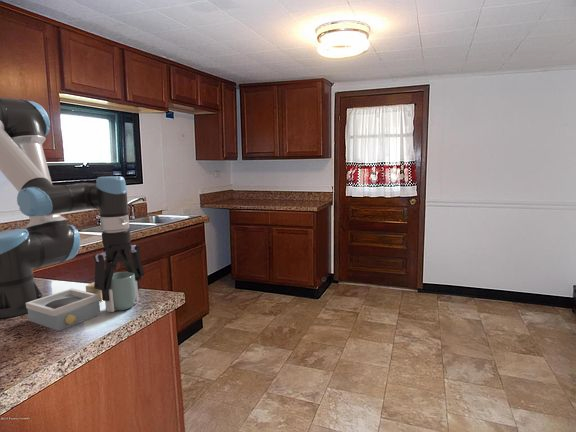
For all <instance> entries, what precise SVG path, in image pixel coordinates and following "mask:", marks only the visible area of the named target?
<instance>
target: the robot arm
mask: <svg viewBox="0 0 576 432" xmlns="http://www.w3.org/2000/svg"><path fill="white" fill-rule="evenodd" d="M49 117H50V116H49V115H48V113H47V111H46V109H45V108H44V107H43V106H42V105H41V104H40V103H37V102H35V101H32V100H27V99H24V98H22V99H21V98H20V99H17V98H10V97H9V98H8V97H0V172H1V173H2V174H3V176H5V178H6V179H7V180H8V181H9V183H11V185H12V186H13V187H14V188H15V190H16V191H17V196H16V203H17V205H18V207H19V211H20V212H21V213H22V214H23V215H24V216H27V217H28V218H29V223H28V224H27V225H26V226H25V228H14V229H7V230H2V231H0V319H5V318H12V317H17V316H20V315H24V314H28V309H27V308H26V303H27V302H30V301H33V300H36V299H40V298H43V297H44V295H43V292H41V289H40V288H39V286H38V285H37V283H36V281H35V277H34V270H35V269H40V268H43V267H47V266H52V265H55V264H61V263H64V262H66V261H68V260H69V261H70V260H72V259H73V258H75V257H76V256H77V255H78V253H79V251H80V248H81V235H80V232H79V231H78V229H77V227H76V226H74V225H72V224H69V222H68V219H67V218H66V217H64V216H62V215H61V213H69V212H77V211H82V210H83V211H85V210H99V221H100V222H99V223H100V230H101V231H102V233H101V242H102V245H103V251H102V252H100V253H95V254H93V259H94V262H95V265H94V266H95V267H94V288H95V289H98V290H102V298H103V301H102V302H104V305H105V311H107V312H111V313H114V312H115V310H114V302H113V291H112V289H109V288H110V285H111V281H112V277H113V273H115V269H116V267H117V266H118V263H121V262H122V263H123V266H124V267H125V269H126V272H132V273H134V274H135V283H136V300H135V303H137V302H139V299H140V298H139V297H140V296H139V290H140V281H141V280H142V277H143V276H144V275H145V272H144V267H143V263H142V259H141V254H140V252H141V251H140V248H141V247H140V245H136V244H131V240H132V236H131V230H130V229H129V228H130V217H129V206H128V189H127V183H126V180H125V178H124V176H121V175H120V176H118V175H116V176H113V175H111V176H108V175H107V176H98V177H97V178H96V181H95V182H96V183H92V182H91V183H88V182H78V183H72V184H66V185H65V184H64V185H63V184H62V185H55V184H54V185H53V182H52V177H51V175H50V170H49V168H48V167H49V166H48V163H47V160H46V155H45V152H44V148H43V147H44V146H43V145H44V142H46V139H47V138H46V136H48V134H49V133H50V130H51V129H50V127H51V121H50V118H49Z"/></svg>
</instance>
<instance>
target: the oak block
mask: <svg viewBox="0 0 576 432" xmlns="http://www.w3.org/2000/svg"><path fill="white" fill-rule="evenodd" d="M94 282H95V281H94ZM94 282H91V283H89V284H87V285H85V292H89V293H93V294H98V295H99V299H100V300H98V301H102V300H103V298H102V290H98V289H95V288H94ZM102 302H103V301H102Z"/></svg>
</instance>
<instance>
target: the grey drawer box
mask: <svg viewBox="0 0 576 432" xmlns="http://www.w3.org/2000/svg"><path fill="white" fill-rule="evenodd" d="M98 300H100V299H99V295H98V294H93V293H89V292H86V290H85V291H84V290H81V289H76V288H68V289H65V290H62V291H59V292H56V293H52V294H50V295H46V296H43V298H40V299H36V300H33V301H30V302H27V303H26V308H27V309H28V313H27V316H28V321H29V322H31V323H34V324H37V325H40V326H43V327H46V328H50V329H52V330H56V331H62V330H64V329H67V328H69V327H72V326H74V325H77V324H79V323H81V321H82V322H84V321H86V319H87V320H89V319H92V318H94V317H96V315H97V316H99V315H101V307H100V306H101V305H100V302H99V301H98ZM98 314H99V315H98ZM93 316H94V317H93ZM91 317H92V318H91Z"/></svg>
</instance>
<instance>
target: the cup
mask: <svg viewBox="0 0 576 432" xmlns="http://www.w3.org/2000/svg"><path fill="white" fill-rule="evenodd" d="M109 289H112V291H113V302H114V311H125V310H129V309H130V308H132V307H133V306H134V305H135V303H136V302H135V300H136V283H135V274H134V273H132V272H128V271H117V272H114V273H113V277H112V281H111V285H110V288H109Z"/></svg>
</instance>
